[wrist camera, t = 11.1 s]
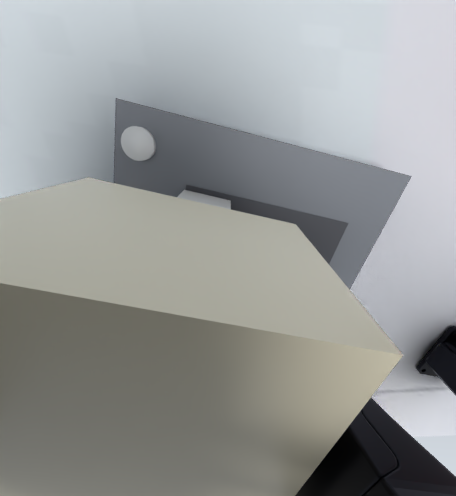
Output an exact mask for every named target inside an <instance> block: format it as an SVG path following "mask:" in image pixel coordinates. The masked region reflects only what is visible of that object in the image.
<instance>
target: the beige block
mask: <svg viewBox="0 0 456 496" xmlns="http://www.w3.org/2000/svg"><path fill="white" fill-rule="evenodd" d="M402 356H403V354H402V353H401V352H400V351H399V349H398V348H397V347H396V346H395V345H394V343H393V342H392V341H391V340H390V338H389V337H388V336H387V335H386V334H385V332H384V331H383V330H382V329H381V327H380V326H379V325H378V324H377V323H376V321H375V320H374V319H373V318H372V317H371V315H370V314H369V313H368V312H367V310H366V309H365V308H364V307H363V306H362V304H361V303H360V302H359V301H358V299H357V298H356V297H355V296H354V295H353V293H352V292H351V291H350V290H349V289H348V287H347V286H346V285H345V284H344V282H343V281H342V280H341V279H340V278H339V276H338V275H337V274H336V273H335V271H334V270H333V269H332V268H331V267H330V265H329V264H328V263H327V262H326V260H325V259H324V258H323V257H322V256H321V254H320V253H319V252H318V251H317V250H316V248H315V247H314V246H313V245H312V243H311V242H310V241H309V240H308V239H307V237H306V236H305V235H304V234H303V232H302V231H301V230H300V229H299V228H298V226H297V225H296V224H293V223H288V222H284V221H279V220H275V219H271V218H266V217H262V216H257V215H253V214H248V213H244V212H240V211H235V210H231V209H226V208H222V207H217V206H213V205H209V204H204V203H200V202H195V201H191V200H186V199H182V198H178V197H173V196H169V195H164V194H160V193H155V192H151V191H147V190H142V189H138V188H133V187H129V186H124V185H120V184H116V183H111V182H107V181H102V180H98V179H93V178H89V177H87V178H83V179H79V180H75V181H71V182H67V183H63V184H59V185H55V186H50V187H46V188H42V189H38V190H34V191H30V192H26V193H22V194H18V195H14V196H10V197H5V198H1V199H0V496H295V495H296V494H297V493H298V491H299V490H300V489H301V487H302V486H303V485H304V483H305V482H306V481H307V480H308V478H309V477H310V476H311V474H312V473H313V472H314V471H315V469H316V468H317V467H318V465H319V464H320V463H321V461H322V460H323V459H324V458H325V456H326V455H327V454H328V452H329V451H330V450H331V448H332V447H333V446H334V445H335V443H336V442H337V441H338V439H339V438H340V437H341V436H342V434H343V433H344V432H345V430H346V429H347V428H348V426H349V425H350V424H351V423H352V421H353V420H354V419H355V417H356V416H357V415H358V414H359V412H360V411H361V410H362V408H363V407H364V406H365V404H366V403H367V402H368V401H369V399H370V398H371V397H372V395H373V394H374V393H375V391H376V390H377V389H378V388H379V386H380V385H381V384H382V382H383V381H384V380H385V379H386V377H387V376H388V375H389V373H390V372H391V371H392V369H393V368H394V367H395V366H396V364H397V363H398V362H399V360H400V359H401V358H402Z"/></svg>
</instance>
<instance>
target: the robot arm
mask: <svg viewBox="0 0 456 496" xmlns="http://www.w3.org/2000/svg"><path fill="white" fill-rule="evenodd" d="M416 369H417V370H418V372H419V373H421V374H426V375H432V376H438V377H439V378H440V379H441V380H442V381H443V382H444V383H445V384H446V385H447V386H448V388H449V389H450V390H451V391H452V392H453V393H454V394H455V395H456V327H455V326H453V327H450V328H449V329H448V330H447V331H446V332H445V333H444V334H443V336H442V337H441V338H440V339H439V340H438V342H437V343H436V344H435V345H434V346H433V348H432V349H431V350H430V351H429V352H428V354H427V355H426V356H425V357H424V358H423V360H422V361H421V362H420V363H419V364H418V366H417V367H416ZM295 496H456V476H454V475H453V474H452V473H451V472H450V471H449V470H448V469H447V468H446V467H445V466H443V465H442V464H441V463H440V462H439V461H438V460H437V459H436V458H435V457H434V456H432V455H431V454H430V453H429V452H428V451H427V450H426V449H425V448H424V447H423V446H422V445H420V444H419V443H418V442H417V441H416V440H415V439H414V438H413V437H412V436H411V435H410V434H408V433H407V432H406V431H405V430H404V429H403V428H402V427H401V426H400V425H399V424H398V423H397V422H396V421H395V420H393V419H392V418H391V417H390V416H389V415H388V414H387V413H386V412H385V411H384V410H383V409H382V408H381V407H380V406H379V405H378V404H377V403H376V402H375V401H374V400H373V399H372V398H370V399H369V401H368V402H367V403H366V404H365V406H364V407H363V408H362V410H361V411H360V412H359V414H358V415H357V416H356V417H355V419H354V420H353V421H352V423H351V424H350V425H349V426H348V428H347V429H346V430H345V432H344V433H343V434H342V436H341V437H340V438H339V439H338V441H337V442H336V443H335V445H334V446H333V447H332V448H331V450H330V451H329V452H328V454H327V455H326V456H325V458H324V459H323V460H322V461H321V463H320V464H319V465H318V467H317V468H316V469H315V471H314V472H313V473H312V474H311V476H310V477H309V478H308V480H307V481H306V482H305V483H304V485H303V486H302V487H301V489H300V490H299V491H298V493H297V494H296V495H295Z"/></svg>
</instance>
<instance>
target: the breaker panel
mask: <svg viewBox="0 0 456 496" xmlns="http://www.w3.org/2000/svg"><path fill="white" fill-rule="evenodd" d="M410 178H411V176H409V175H405V174H401V173H398V172H394V171H390V170H386V169H382V168H379V167H375V166H371V165H367V164H363V163H360V162H356V161H352V160H348V159H344V158H341V157H337V156H333V155H329V154H325V153H322V152H318V151H314V150H310V149H307V148H303V147H299V146H295V145H291V144H288V143H284V142H280V141H276V140H272V139H269V138H265V137H261V136H257V135H253V134H250V133H246V132H242V131H238V130H234V129H231V128H227V127H223V126H219V125H215V124H212V123H208V122H204V121H200V120H197V119H193V118H189V117H185V116H181V115H178V114H174V113H170V112H166V111H162V110H159V109H155V108H151V107H147V106H143V105H140V104H136V103H132V102H128V101H124V100H121V99H117V98H116V113H115V152H114V183H116V184H120V185H124V186H129V187H133V188H138V189H142V190H147V191H151V192H155V193H160V194H164V195H169V196H173V197H178V196H179V195H180V194H181V193H182V192H183V191H184V190H188V191H192V192H196V193H201V194H205V195H209V196H213V197H218V198H222V199H226V200H230V201H231V210H235V211H240V212H244V213H248V214H253V215H257V216H262V217H266V218H271V219H275V220H279V221H284V222H288V223H293V224H296V225H297V226H298V228H299V229H300V230H301V231H302V232H303V234H304V235H305V236H306V237H307V239H308V240H309V241H310V242H311V243H312V245H313V246H314V247H315V248H316V250H317V251H318V252H319V253H320V254H321V256H322V257H323V258H324V259H325V260H326V262H327V263H328V264H329V265H330V267H331V268H332V269H333V270H334V271H335V273H336V274H337V275H338V276H339V278H340V279H341V280H342V281H343V282H344V284H345V285H346V286H347V287H348V289H349V290H350V288H351V286H352V284H353V282H354V281H355V279H356V277H357V275H358V273H359V272H360V270H361V268H362V266H363V264H364V262H365V261H366V259H367V257H368V255H369V253H370V251H371V250H372V248H373V246H374V244H375V242H376V240H377V239H378V237H379V235H380V233H381V231H382V229H383V228H384V226H385V224H386V222H387V220H388V218H389V217H390V215H391V213H392V211H393V209H394V208H395V206H396V204H397V202H398V200H399V198H400V197H401V195H402V193H403V191H404V189H405V187H406V186H407V184H408V182H409V180H410Z"/></svg>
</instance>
